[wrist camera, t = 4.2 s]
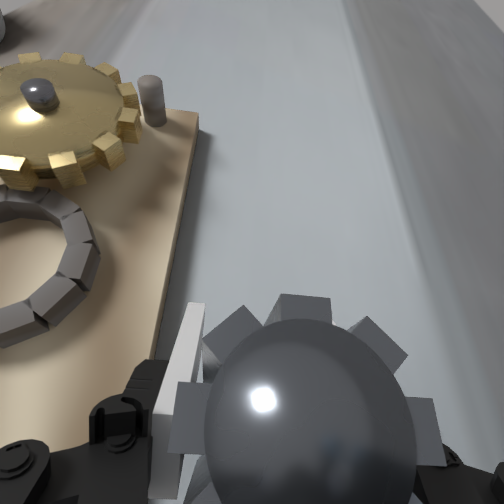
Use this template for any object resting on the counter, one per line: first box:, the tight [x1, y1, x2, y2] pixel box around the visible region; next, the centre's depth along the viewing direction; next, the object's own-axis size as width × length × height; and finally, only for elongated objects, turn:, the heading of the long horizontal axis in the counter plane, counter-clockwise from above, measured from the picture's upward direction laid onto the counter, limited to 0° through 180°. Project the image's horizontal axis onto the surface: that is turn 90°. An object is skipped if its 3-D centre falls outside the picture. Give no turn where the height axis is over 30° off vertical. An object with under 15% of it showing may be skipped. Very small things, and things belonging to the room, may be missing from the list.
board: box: [0, 75, 199, 453], centre depth 17 cm, size 16×25×4 cm, turn 177°
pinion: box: [167, 294, 447, 504], centre depth 11 cm, size 5×5×12 cm
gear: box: [0, 52, 143, 192], centre depth 19 cm, size 10×10×5 cm
